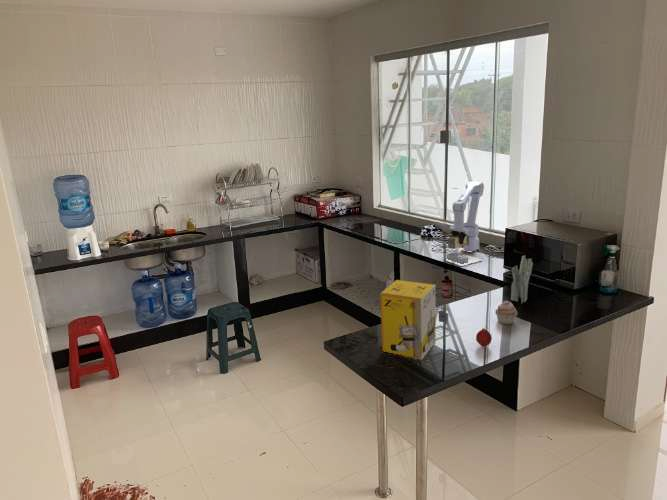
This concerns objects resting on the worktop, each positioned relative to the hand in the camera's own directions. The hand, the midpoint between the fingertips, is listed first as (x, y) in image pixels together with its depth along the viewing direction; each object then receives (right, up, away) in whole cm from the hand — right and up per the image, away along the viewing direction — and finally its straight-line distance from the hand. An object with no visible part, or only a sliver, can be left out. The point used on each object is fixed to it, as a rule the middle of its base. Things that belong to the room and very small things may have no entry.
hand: (458, 243), depth 304 cm
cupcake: (-2, -36, -88) cm, 95 cm away
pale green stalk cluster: (+13, -28, -66) cm, 73 cm away
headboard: (+2, -11, -4) cm, 12 cm away
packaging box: (-46, -43, -105) cm, 123 cm away
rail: (0, -2, 0) cm, 2 cm away
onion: (-17, -42, -108) cm, 118 cm away
